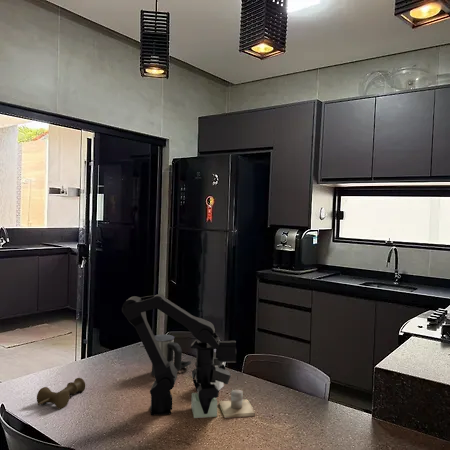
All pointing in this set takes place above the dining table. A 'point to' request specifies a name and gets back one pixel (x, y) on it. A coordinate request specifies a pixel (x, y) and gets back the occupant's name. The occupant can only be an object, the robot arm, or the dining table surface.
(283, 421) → the dining table surface
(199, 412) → the sleeve
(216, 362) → the jar
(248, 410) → the knob on square plate
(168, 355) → the milk frother
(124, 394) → the dining table surface
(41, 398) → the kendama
